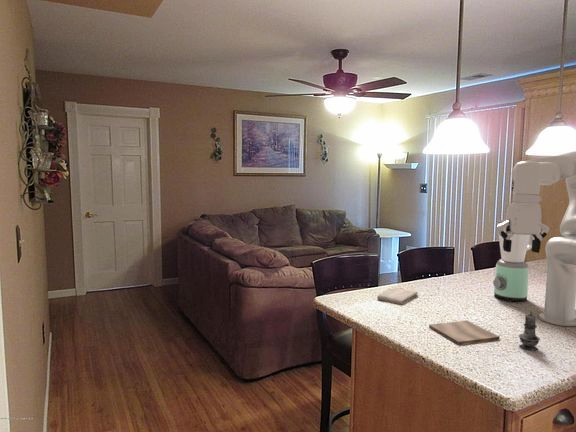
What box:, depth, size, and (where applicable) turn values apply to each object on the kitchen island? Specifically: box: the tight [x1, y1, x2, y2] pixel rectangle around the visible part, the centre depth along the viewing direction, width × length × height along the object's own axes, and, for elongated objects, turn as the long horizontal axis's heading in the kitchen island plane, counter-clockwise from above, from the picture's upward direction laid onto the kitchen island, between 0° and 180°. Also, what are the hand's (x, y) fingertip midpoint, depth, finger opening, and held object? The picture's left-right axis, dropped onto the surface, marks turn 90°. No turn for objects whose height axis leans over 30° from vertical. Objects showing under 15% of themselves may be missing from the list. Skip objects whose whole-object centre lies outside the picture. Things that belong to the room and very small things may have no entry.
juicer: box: [492, 219, 534, 303], centre depth 187 cm, size 19×13×35 cm
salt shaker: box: [518, 311, 541, 352], centre depth 135 cm, size 6×6×12 cm
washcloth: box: [376, 286, 419, 306], centre depth 189 cm, size 12×18×3 cm, turn 142°
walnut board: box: [428, 320, 500, 346], centre depth 148 cm, size 16×16×1 cm
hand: (521, 251), depth 140 cm, fingers open, 9 cm apart
